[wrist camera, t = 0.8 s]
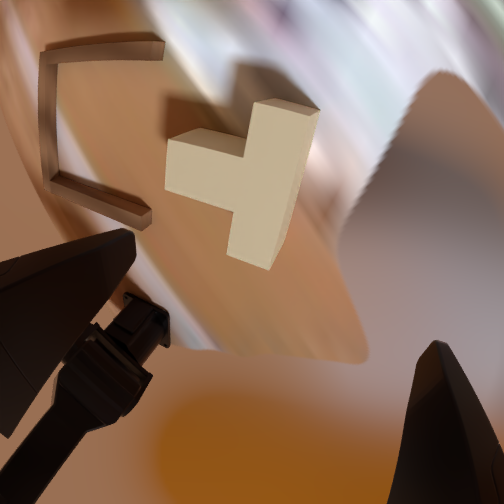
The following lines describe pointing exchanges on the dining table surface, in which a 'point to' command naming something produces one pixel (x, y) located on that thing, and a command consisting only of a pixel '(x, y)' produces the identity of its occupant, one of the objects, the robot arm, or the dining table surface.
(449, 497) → the robot arm
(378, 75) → the dining table surface
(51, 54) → the frame
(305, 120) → the T block
